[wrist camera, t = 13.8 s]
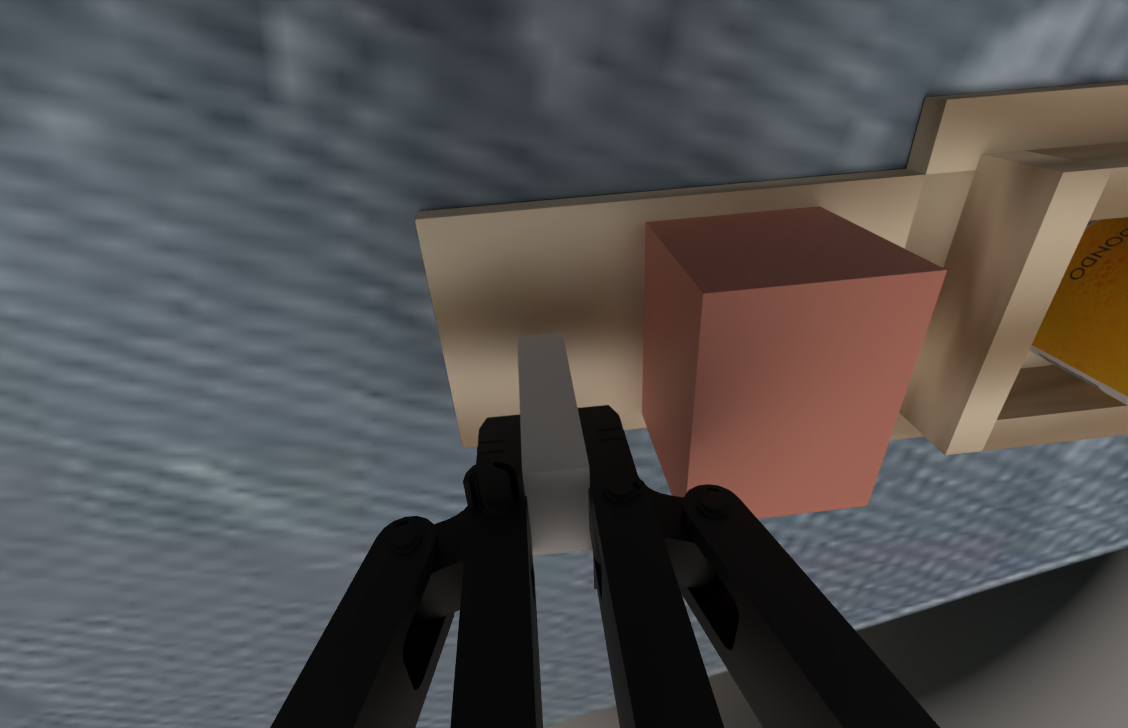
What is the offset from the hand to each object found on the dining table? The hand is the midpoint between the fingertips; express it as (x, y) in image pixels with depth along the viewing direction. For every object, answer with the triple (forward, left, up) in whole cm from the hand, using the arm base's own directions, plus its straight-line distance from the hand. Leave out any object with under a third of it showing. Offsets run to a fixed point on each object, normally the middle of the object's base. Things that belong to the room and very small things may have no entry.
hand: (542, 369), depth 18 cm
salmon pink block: (0, +7, -2) cm, 7 cm away
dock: (0, +12, -3) cm, 12 cm away
